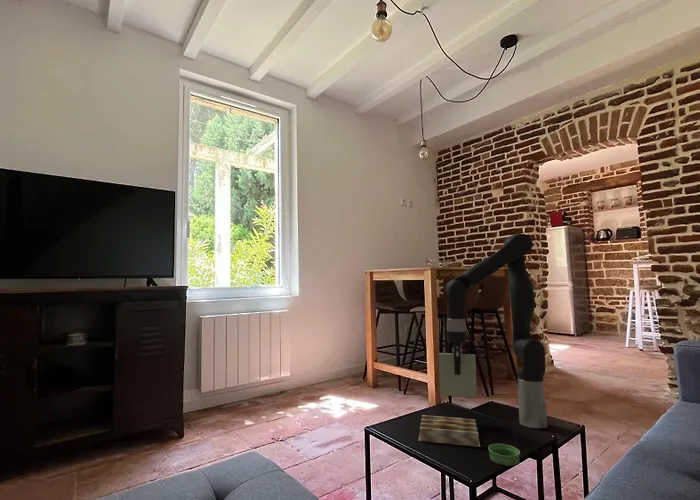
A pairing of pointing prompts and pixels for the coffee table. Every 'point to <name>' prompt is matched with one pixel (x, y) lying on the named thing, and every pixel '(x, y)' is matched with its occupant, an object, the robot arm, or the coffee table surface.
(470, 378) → the sage board
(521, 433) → the coffee table surface
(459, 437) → the rack
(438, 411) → the coffee table surface
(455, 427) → the offcut front
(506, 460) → the ramekin
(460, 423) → the offcut middle
